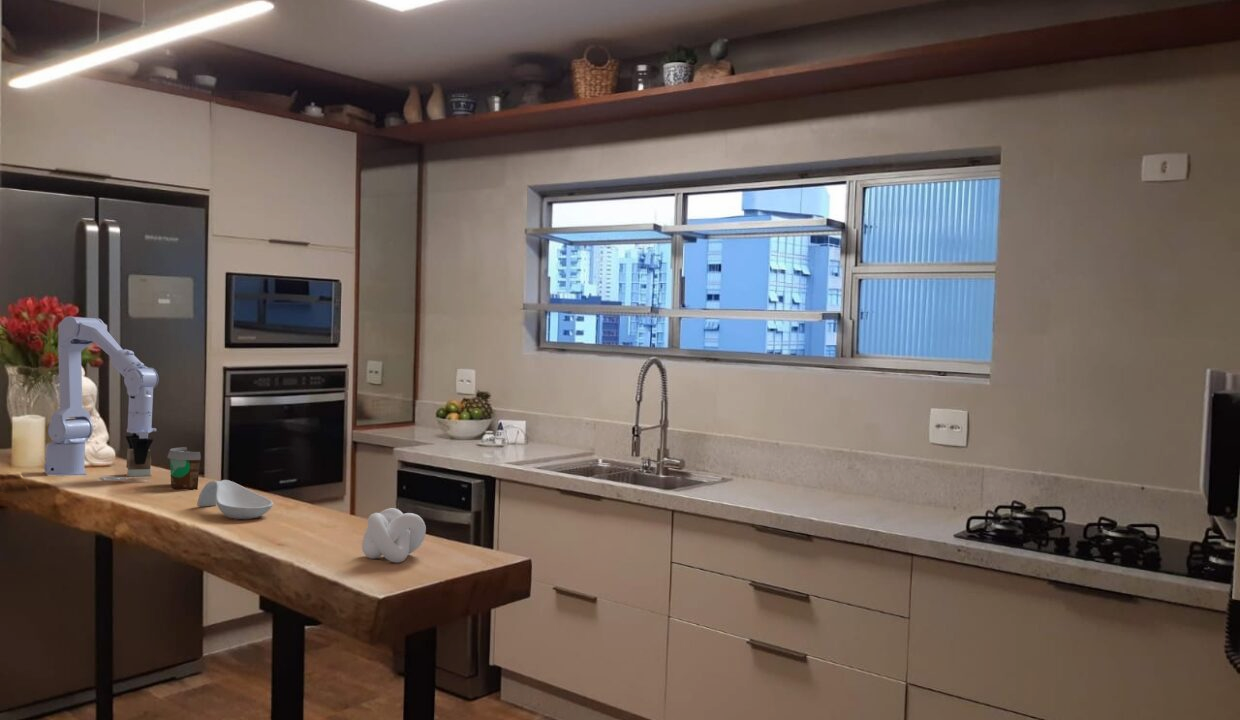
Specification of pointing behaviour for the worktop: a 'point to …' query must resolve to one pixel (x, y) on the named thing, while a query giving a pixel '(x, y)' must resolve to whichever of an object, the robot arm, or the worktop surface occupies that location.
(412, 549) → the grey knot sculpture
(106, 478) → the tile
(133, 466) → the walnut block
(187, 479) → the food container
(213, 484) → the spoon rest
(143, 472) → the sage block
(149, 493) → the worktop surface
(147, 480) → the coaster
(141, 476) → the tile
